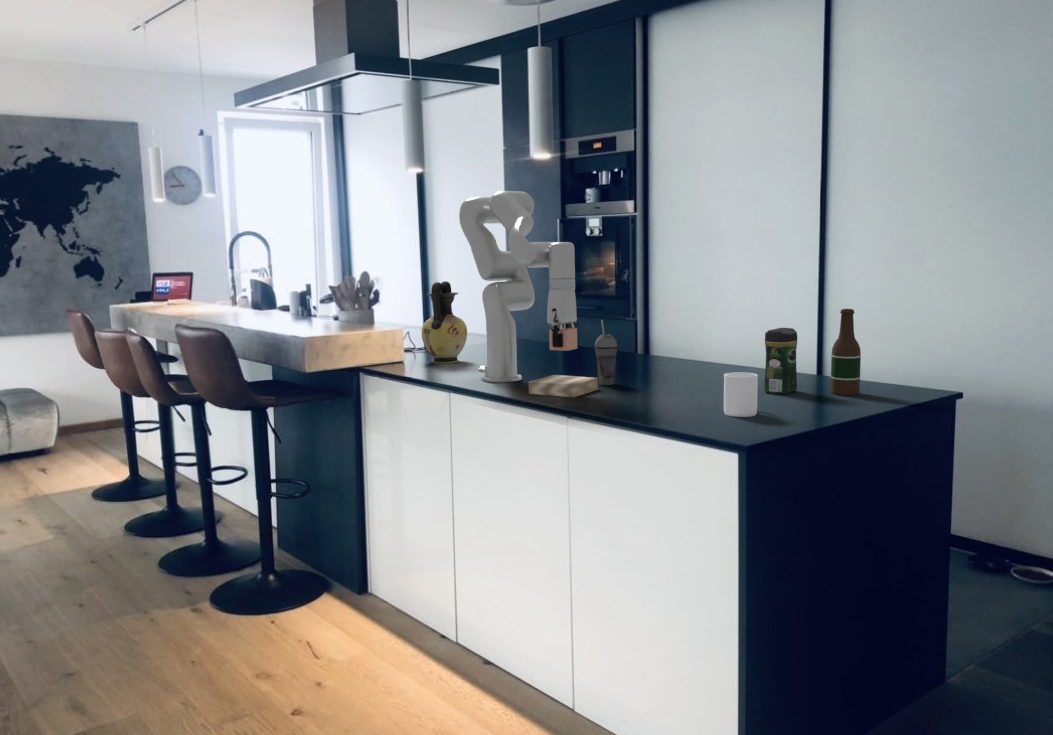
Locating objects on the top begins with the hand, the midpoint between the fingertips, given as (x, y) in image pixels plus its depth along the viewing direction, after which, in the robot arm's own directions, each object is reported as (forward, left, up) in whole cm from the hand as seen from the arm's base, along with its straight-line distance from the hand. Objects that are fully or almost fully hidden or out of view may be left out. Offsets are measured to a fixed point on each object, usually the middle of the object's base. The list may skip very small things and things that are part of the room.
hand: (563, 345), depth 273 cm
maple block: (0, 0, -14) cm, 14 cm away
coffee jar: (+57, +26, -14) cm, 64 cm away
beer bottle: (+74, +31, -14) cm, 81 cm away
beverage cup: (+5, +18, -14) cm, 23 cm away
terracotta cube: (0, 0, -1) cm, 1 cm away
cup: (+58, -9, -14) cm, 60 cm away
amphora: (-73, +39, -14) cm, 84 cm away
